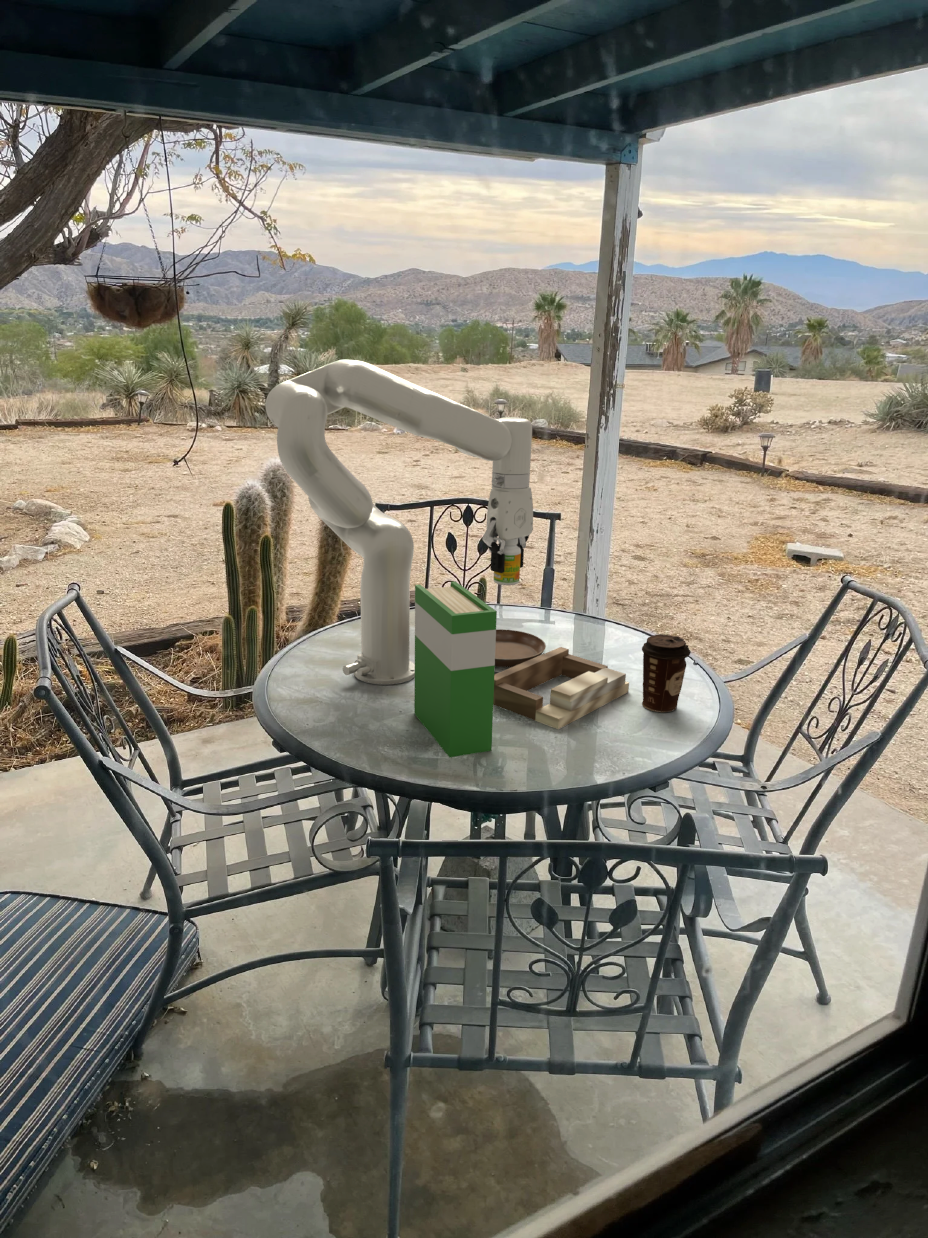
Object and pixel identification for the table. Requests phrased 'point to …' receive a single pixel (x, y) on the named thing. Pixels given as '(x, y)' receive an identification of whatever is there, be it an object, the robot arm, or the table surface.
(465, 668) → the hardback book
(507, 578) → the supplement bottle
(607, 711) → the table surface
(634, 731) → the table surface
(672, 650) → the coffee cup
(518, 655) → the plant saucer
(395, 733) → the table surface
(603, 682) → the frame
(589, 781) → the table surface
